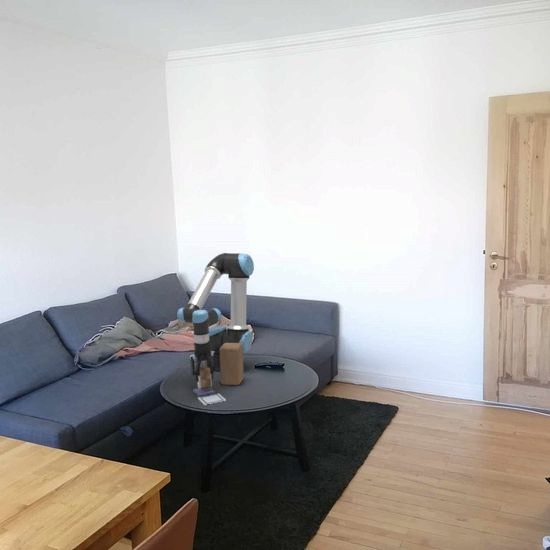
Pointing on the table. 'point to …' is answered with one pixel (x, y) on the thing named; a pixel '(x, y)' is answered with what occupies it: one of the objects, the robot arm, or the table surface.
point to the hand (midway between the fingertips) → (204, 386)
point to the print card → (211, 399)
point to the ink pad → (204, 392)
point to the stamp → (205, 377)
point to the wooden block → (231, 363)
